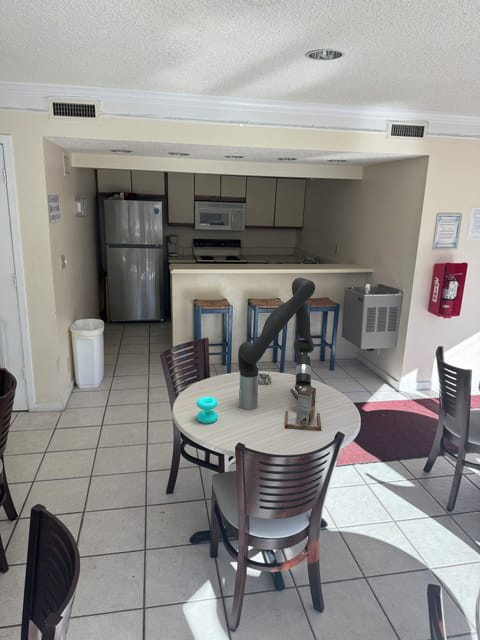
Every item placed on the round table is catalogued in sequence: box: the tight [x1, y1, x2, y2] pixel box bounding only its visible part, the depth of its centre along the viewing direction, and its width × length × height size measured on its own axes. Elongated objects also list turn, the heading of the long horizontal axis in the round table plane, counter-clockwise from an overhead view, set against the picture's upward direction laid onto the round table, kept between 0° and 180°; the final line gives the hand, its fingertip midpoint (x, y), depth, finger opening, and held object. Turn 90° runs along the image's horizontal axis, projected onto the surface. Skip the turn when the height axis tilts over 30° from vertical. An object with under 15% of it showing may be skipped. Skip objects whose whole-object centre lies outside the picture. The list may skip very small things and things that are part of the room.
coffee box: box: [295, 386, 317, 425], centre depth 205 cm, size 9×6×16 cm
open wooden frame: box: [284, 410, 322, 432], centre depth 206 cm, size 16×14×2 cm
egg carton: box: [258, 372, 272, 386], centre depth 252 cm, size 11×8×4 cm
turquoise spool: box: [196, 396, 219, 424], centre depth 206 cm, size 10×10×10 cm
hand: (302, 408), depth 212 cm, fingers closed
